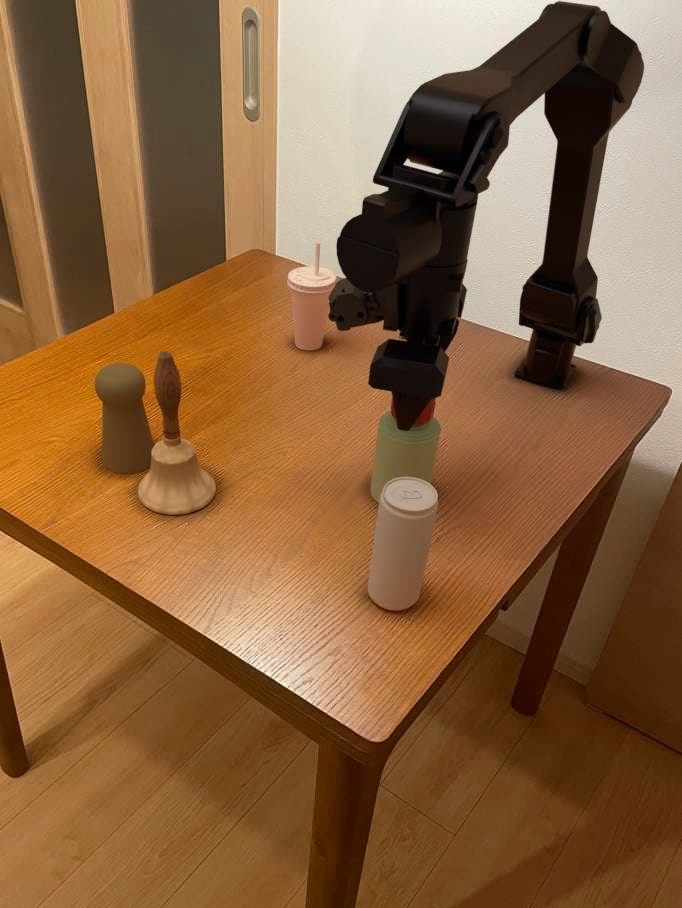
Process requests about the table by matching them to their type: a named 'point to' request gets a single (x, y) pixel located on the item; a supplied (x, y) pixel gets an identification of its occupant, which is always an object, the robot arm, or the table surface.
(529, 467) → the table surface
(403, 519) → the beverage can
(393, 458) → the sauce bottle
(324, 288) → the smoothie
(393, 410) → the bottle cap
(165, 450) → the hand bell
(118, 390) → the cork
